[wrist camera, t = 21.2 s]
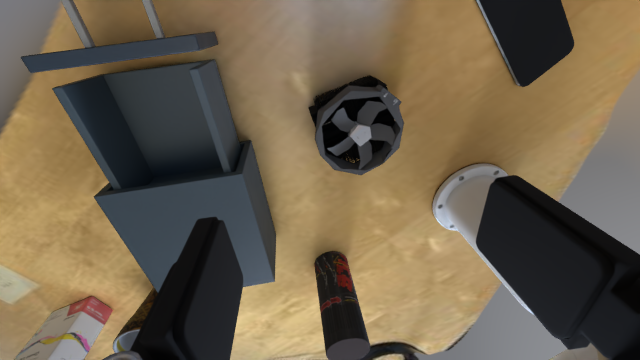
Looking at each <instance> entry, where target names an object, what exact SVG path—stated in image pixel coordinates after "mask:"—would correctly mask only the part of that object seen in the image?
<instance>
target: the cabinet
mask: <svg viewBox="0 0 640 360" xmlns="http://www.w3.org/2000/svg"><path fill="white" fill-rule="evenodd" d="M239 144H240V148H241V151H242V153H241V156H240V160H239V163H238V166H237V169H236V172H229V173H223V174H216V175H210V176H203V177H197V178H191V179H184V180H178V181H171V182H165V183H158V184H152V185H145V186H139V187H132V188H126V189H119V190H114V189H113V187H112V186H111V184H110V183H108V184H107V185H106V186H105V187H104V188H103V189H102V190H101V191H100V192H99V193H98V194H96V195H95V196H94V198H95V200H96V201H97V203H98V204H99V206H100V207H101V209H102V210H103V212H104V213H105V215H106V216H107V218H108V219H109V221H110V222H111V224H112V225H113V227H114V228H115V230H116V231H117V233H118V234H119V236H120V237H121V238H122V240H123V241H124V243H125V244H126V246H127V247H128V249H129V250H130V252H131V253H132V255H133V256H134V258H135V259H136V261H137V262H138V264H139V265H140V267H141V268H142V270H143V271H144V273H145V274H146V276H147V277H148V279H149V280H150V282H151V283H152V285H153V286H154V288H155V289H156V291H157V292H159V290H160V288H161V286H162V284H163V282H164V280H165V278H166V276H167V274H168V272H169V270H170V268H171V267H172V265H173V264H174V263H175V262H177V260H178V258H179V256H180V254H181V252H182V250H183V248H184V246H185V244H186V241H187V239H188V237H189V235H190V233H191V231H192V229H193V227H194V225H195V223H196V221H197V220H198V219H201V218H208V217H217V218H218V220H223V221H224V223H225V226H226V228H227V231H228V234H229V237H230V240H231V242H232V245H233V248H234V251H235V254H236V257H237V259H238V262H239V265H240V268H241V271H242V274H243V287H246V286H252V285H258V284H263V283H269V282H275V255H276V233H275V229H274V225H273V221H272V217H271V214H270V210H269V206H268V202H267V198H266V195H265V191H264V187H263V183H262V179H261V176H260V172H259V168H258V164H257V160H256V157H255V153H254V149H253V145H252V141H251V140H250V141H243V142H239Z"/></svg>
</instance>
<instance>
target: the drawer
mask: <svg viewBox="0 0 640 360" xmlns="http://www.w3.org/2000/svg"><path fill="white" fill-rule="evenodd" d="M61 1H62V3H63V5H64V7H65V9H66V11H67V13H68V15H69V17H70V19H71V21H72V23H73V25H74V27H75V29H76V31H77V33H78V35H79V37H80V39H81V41H82V43H83V45H84V46H85V48H83V49H75V50H67V51H60V52H52V53H44V54H37V55H29V56H22V57H21V59H22V60H23V62H24V63H25V65H26V66H27V68H28V70H29V71H30V72H31V73H35V72H42V71H50V70H57V69H65V68H72V67H80V66H87V65H95V64H102V63H110V62H117V61H125V60H132V59H140V58H147V57H155V56H163V55H170V54H178V53H185V52H193V51H200V50H203V49H206V48H209V47H212V46H215V45H218V41H217V38H216V34H215V32H207V33H198V34H190V35H183V36H175V37H167V38H165V35H164V32H163V29H162V26H161V24H160V21H159V18H158V15H157V13H156V10H155V7H154V4H153V2H152V0H142V2H143V4H144V7H145V10H146V12H147V15H148V18H149V20H150V23H151V26H152V28H153V31H154V33H155V36H156V38H157V39H152V40H144V41H137V42H129V43H121V44H114V45H106V46H98V47H96V46H95V44H94V42H93V40H92V38H91V36H90V34H89V32H88V30H87V28H86V26H85V24H84V21H83V19H82V17H81V15H80V13H79V11H78V9H77V7H76V5H75V3H74V1H73V0H61ZM52 89H53V91H54V93H55V94H56V96H57V97H58V99H59V101H60V102H61V104H62V106H63V107H64V109H65V111H66V112H67V114H68V115H69V117H70V119H71V120H72V122H73V124H74V125H75V127H76V129H77V130H78V132H79V133H80V135H81V137H82V138H83V140H84V142H85V143H86V145H87V146H88V148H89V150H90V151H91V153H92V155H93V156H94V158H95V160H96V161H97V163H98V164H99V166H100V168H101V169H102V171H103V173H104V174H105V176H106V178H107V179H108V181H109V182H110V184H111V186H112V187H113V189H114V190H119V189H126V188H132V187H139V186H145V185H152V184H158V183H165V182H171V181H178V180H184V179H191V178H197V177H203V176H210V175H216V174H223V173H229V172H236V169H237V166H238V163H239V160H240V156H241V153H242V151H241V148H240V144H239V141H238V137H237V134H236V130H235V127H234V123H233V120H232V116H231V113H230V110H229V106H228V103H227V99H226V96H225V92H224V89H223V85H222V82H221V78H220V75H219V72H218V68H217V65H216V61H215V59H213V60H205V61H198V62H190V63H183V64H176V65H168V66H161V67H153V68H146V69H138V70H131V71H124V72H116V73H109V74H101V75H97V76H94V77H90V78H86V79H83V80H79V81H76V82H72V83H69V84H65V85H62V86H58V87H55V88H52Z"/></svg>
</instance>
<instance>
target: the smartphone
mask: <svg viewBox="0 0 640 360" xmlns="http://www.w3.org/2000/svg"><path fill="white" fill-rule="evenodd" d="M476 1H477V3H478V5H479V7H480V9H481V11H482V13H483V15H484V17H485V20H486V22H487V24H488V26H489V28H490V30H491V32H492V34H493V36H494V38H495V40H496V43H497V45H498V47H499V49H500V51H501V53H502V55H503V57H504V59H505V61H506V63H507V65H508V68H509V70H510V72H511V74H512V76H513V78H514V80H515V82H516V84H517V85H518V86H522V87H525V86H528V85H529V84H531V83H532V82H533V81H534V80H536V79H537V78H538V77H540V76H541V75H542V74H543V73H545V72H546V71H547V70H549V69H550V68H551V67H552V66H554V65H555V64H556V63H558V62H559V61H560V60H561V59H563V58H564V57H565V56H567V55H568V54H569V53H570V52H571V51H572V49H573V47H574V40H573V36H572V33H571V30H570V27H569V24H568V21H567V18H566V15H565V12H564V9H563V6H562V2H561V0H476Z"/></svg>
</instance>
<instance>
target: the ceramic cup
mask: <svg viewBox="0 0 640 360" xmlns="http://www.w3.org/2000/svg"><path fill="white" fill-rule="evenodd" d="M157 294H158V292H157V291H156V289H155V288H153V289H152V291H151V292H150V293H149V295H148V296H147V298H146V299H145V300H144V302H143V303H142V304H141V306H140V307H139V308H138V310H137V311H136V313H135V314H134V315H133V316H132V317H131V318H130V319H129V321H128V322H127V323H126V324H125V326H124V327H123V328H122V330H121V331H120V333H119V334H118V336H117V337H116V338H115V340H114V342H113V350H114V352H115V353H117V352H120V351H130V349H131V347H132V345H133V343H134V341H135V339H136V337H137V335H138V333H139V331H140V329H141V326H142V324H143V322H144V320H145V318H146V316H147V314H148V312H149V310H150V308H151V306H152V304H153V302H154V300H155V298H156V296H157Z"/></svg>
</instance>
